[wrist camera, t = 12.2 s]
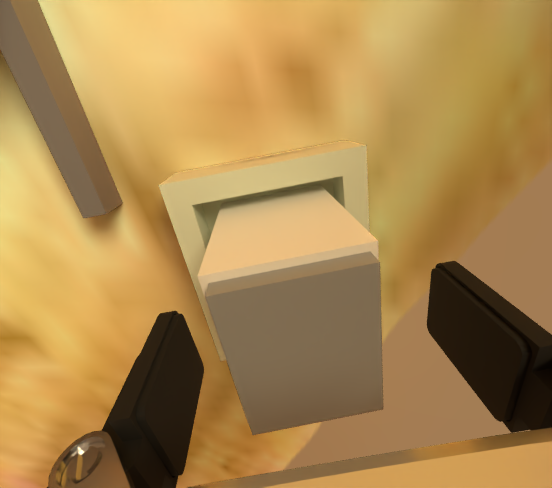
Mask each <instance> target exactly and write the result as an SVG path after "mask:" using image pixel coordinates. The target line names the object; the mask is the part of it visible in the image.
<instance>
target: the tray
mask: <svg viewBox="0 0 552 488" xmlns="http://www.w3.org/2000/svg"><path fill="white" fill-rule="evenodd" d="M318 184H320V185H321V186H322V187H323V188H324V189H325V190H326V191H327V192H328V193H329V194H330V195H331V196H332V197H333V198H334V199H335V200H337V201H338V202H339V203H340V204H341V205H342V206H343V207H344V208H345V209H346V210H347V211H348V212H349V213H350V214H351V215H352V216H353V217H354V218H355V219H356V220H357V221H358V222H359V223H360V224H361V225H362V226H363V227H364V228H365V229H366V230H368V231H369V232H370V228H369V200H368V172H367V145H364V144H360V143H356V142H352V141H348V140H342V141H337V142H332V143H327V144H321V145H316V146H311V147H306V148H301V149H295V150H290V151H285V152H280V153H275V154H270V155H264V156H259V157H254V158H249V159H244V160H239V161H233V162H228V163H223V164H218V165H213V166H207V167H202V168H197V169H192V170H187V171H182V172H176V173H174V174H173V175H172V176H170V177H169V178H168V179H166V180H165V181H163V182H162V183H161V184H159V185H158V186H159V188H160V191H161V194H162V197H163V200H164V203H165V205H166V208H167V211H168V214H169V217H170V219H171V222H172V225H173V228H174V231H175V234H176V236H177V239H178V242H179V245H180V248H181V251H182V253H183V256H184V259H185V262H186V265H187V267H188V270H189V273H190V276H191V279H192V282H193V284H194V287H195V290H196V293H197V296H198V299H199V301H200V304H201V307H202V310H203V313H204V315H205V318H206V321H207V324H208V327H209V330H210V332H211V335H212V338H213V341H214V344H215V347H216V349H217V352H218V355H219V358H220V361H224V360H226V358H225V355H224V352H223V349H222V346H221V343H220V340H219V337H218V335H217V332H216V329H215V326H214V323H213V320H212V317H211V314H210V311H209V308H208V306H207V303H206V300H205V297H204V294H203V291H202V288H201V285H200V282H199V280H198V277H197V276H198V273H199V270H200V267H201V264H202V261H203V258H204V255H205V252H206V249H207V246H208V243H209V240H210V237H211V234H212V231H213V228H214V225H215V222H216V219H217V216H218V213H219V210H220V207H221V204H222V203H226V202H232V201H237V200H242V199H247V198H252V197H257V196H262V195H267V194H272V193H277V192H283V191H288V190H293V189H298V188H303V187H308V186H313V185H318Z"/></svg>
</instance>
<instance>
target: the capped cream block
mask: <svg viewBox="0 0 552 488" xmlns="http://www.w3.org/2000/svg"><path fill="white" fill-rule="evenodd" d="M197 277H198V280H199V282H200V285H201V288H202V291H203V294H204V297H205V300H206V303H207V306H208V308H209V311H210V314H211V317H212V320H213V323H214V326H215V329H216V332H217V335H218V337H219V340H220V343H221V346H222V349H223V352H224V355H225V358H226V361H227V364H228V366H229V369H230V372H231V375H232V378H233V381H234V384H235V387H236V390H237V392H238V395H239V398H240V401H241V404H242V407H243V410H244V413H245V416H246V419H247V421H248V423H249V426H250V429H251V432H252V435H256V434H261V433H266V432H271V431H276V430H281V429H286V428H292V427H297V426H302V425H307V424H312V423H317V422H322V421H327V420H332V419H337V418H342V417H347V416H352V415H357V414H362V413H366V412H372V411H377V410H382V409H383V377H382V376H383V375H382V330H381V286H380V262H379V254H378V240H377V239H376V238H375V237H374V236H373V235H372V234H371V233H370V232H369V231H368V230H366V229H365V228H364V227H363V226H362V225H361V224H360V223H359V222H358V221H357V220H356V219H355V218H354V217H353V216H352V215H351V214H350V213H349V212H348V211H347V210H346V209H345V208H344V207H343V206H342V205H341V204H340V203H339V202H338V201H337V200H335V199H334V198H333V197H332V196H331V195H330V194H329V193H328V192H327V191H326V190H325V189H324V188H323V187H322V186H321V185H320V184H318V185H313V186H308V187H303V188H298V189H293V190H288V191H283V192H277V193H272V194H267V195H262V196H257V197H252V198H247V199H242V200H237V201H232V202H226V203H222V204H221V207H220V210H219V213H218V216H217V219H216V222H215V225H214V228H213V231H212V234H211V237H210V240H209V243H208V246H207V249H206V252H205V255H204V258H203V261H202V264H201V267H200V270H199V273H198V276H197Z"/></svg>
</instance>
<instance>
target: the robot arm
mask: <svg viewBox="0 0 552 488" xmlns="http://www.w3.org/2000/svg"><path fill="white" fill-rule="evenodd" d="M427 328H428V331H429V333H430V334H431V336H432V337H433V338H434V340H435V341H436V342H437V344H438V345H439V346H440V347H441V349H442V350H443V351H444V353H445V354H446V355H447V357H448V358H449V359H450V361H451V362H452V363H453V364H454V366H455V367H456V368H457V369H458V371H459V372H460V374H461V375H462V376H463V377H464V379H465V380H466V381H467V383H468V384H469V385H470V386H471V388H472V389H473V390H474V391H475V393H476V394H477V396H478V397H479V398H480V399H481V401H482V402H483V403H484V405H485V406H486V407H487V409H488V410H489V411H490V413H491V414H492V415H493V416H494V418H495V419H497V420H498V421H500V422H501V421H503V423H504V424H505V425H506V427H507V428H508V429H509V430H510V432H512V433H510V434H503V435H496V436H490V437H483V438H477V439H471V440H465V441H458V442H452V443H446V444H440V445H434V446H428V447H421V448H415V449H409V450H403V451H397V452H391V453H385V454H379V455H372V456H366V457H360V458H354V459H349V460H342V461H336V462H331V463H325V464H319V465H313V466H307V467H301V468H295V469H290V470H283V471H278V472H272V473H266V474H260V475H254V476H249V477H243V478H237V479H231V480H225V481H220V482H214V483H209V484H204V485H199V486H194V487H188V488H552V335H551V334H550V333H548V332H547V331H546V330H545V329H543V328H542V327H541V326H539V325H538V324H537V323H535V322H534V321H533V320H532V319H530V318H529V317H528V316H526V315H525V314H524V313H523V312H521V311H520V310H519V309H517V308H516V307H515V306H513V305H512V304H511V303H509V302H508V301H507V300H506V299H504V298H503V297H502V296H500V295H499V294H498V293H497V292H495V291H494V290H493V289H491V288H490V287H489V286H487V285H486V284H485V283H484V282H482V281H481V280H480V279H478V278H477V277H476V276H474V275H473V274H472V273H471V272H469V271H468V270H467V269H465V268H464V267H463V266H461V265H460V264H459V263H457V262H456V261H451V262H445V263H439V264H437V265H436V267H435V268H434V269H432V272H431V282H430V294H429V306H428V317H427ZM203 373H204V367H203V363H202V360H201V358H200V355H199V353H198V350H197V348H196V346H195V343H194V341H193V338H192V336H191V333H190V331H189V328H188V326H187V323H186V321H185V319H184V316H183V315H182V314H178V312H177V311H172V312H166V313H161V314H159V316H158V317H157V319H156V322H155V324H154V326H153V328H152V330H151V332H150V334H149V336H148V338H147V341H146V343H145V345H144V347H143V349H142V351H141V353H140V355H139V356H138V357H137V359H136V360H135V363H134V365H133V367H132V369H131V371H130V373H129V375H128V377H127V379H126V381H125V383H124V385H123V388H122V390H121V392H120V394H119V396H118V398H117V400H116V402H115V404H114V406H113V408H112V410H111V412H110V415H109V417H108V419H107V421H106V423H105V425H104V427H103V429H102V431H94V432H91V433H88V434H86V435H84V436H82V437H81V438H79V439H77V440H76V441H75V442H73V443H72V444H71V445H70V446H69V447H68V448H67V449H66V450H65V451H64V452H63V453H62V454H61V455H60V457H59V458H58V460H57V461H56V463H55V464H54V466H53V468H52V470H51V473H50V475H49V482H48V487H47V488H176V484H177V479H178V475H182V474H183V471H184V468H185V463H186V458H187V453H188V448H189V443H190V438H191V434H192V429H193V424H194V419H195V414H196V409H197V404H198V399H199V394H200V389H201V384H202V379H203ZM525 430H531V431H525ZM519 431H524V432H519ZM513 432H517V433H513Z"/></svg>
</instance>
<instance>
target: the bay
mask: <svg viewBox="0 0 552 488" xmlns="http://www.w3.org/2000/svg"><path fill="white" fill-rule="evenodd" d="M0 50H1V52H2V54H3V56H4V58H5V60H6V62H7V64H8V66H9V68H10V70H11V72H12V74H13V76H14V78H15V81H16V83H17V85H18V87H19V89H20V91H21V93H22V95H23V97H24V99H25V101H26V103H27V105H28V107H29V109H30V111H31V113H32V115H33V117H34V119H35V121H36V123H37V125H38V127H39V129H40V131H41V133H42V135H43V137H44V139H45V141H46V143H47V145H48V147H49V150H50V152H51V154H52V156H53V158H54V160H55V162H56V164H57V166H58V168H59V170H60V172H61V174H62V176H63V178H64V180H65V182H66V184H67V186H68V188H69V190H70V192H71V194H72V196H73V198H74V200H75V202H76V204H77V206H78V208H79V210H80V212H81V214H82V216H83V218H88V217H93V216H99V215H104V214H107V213H109V212H110V211H112V210H113V209H115V208H116V207H118V206H119V205H121V204H122V200H121V198H120V196H119V193H118V191H117V188H116V186H115V184H114V181H113V179H112V177H111V174H110V172H109V169H108V167H107V165H106V162H105V160H104V157H103V155H102V153H101V150H100V148H99V146H98V143H97V141H96V138H95V136H94V134H93V131H92V129H91V126H90V124H89V122H88V119H87V117H86V115H85V112H84V110H83V107H82V105H81V103H80V100H79V98H78V96H77V93H76V91H75V88H74V86H73V84H72V81H71V79H70V76H69V74H68V72H67V69H66V67H65V65H64V62H63V60H62V57H61V55H60V53H59V50H58V48H57V45H56V43H55V41H54V38H53V36H52V34H51V31H50V29H49V26H48V24H47V22H46V19H45V17H44V15H43V12H42V10H41V7H40V5H39V3H38V0H0Z"/></svg>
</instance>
